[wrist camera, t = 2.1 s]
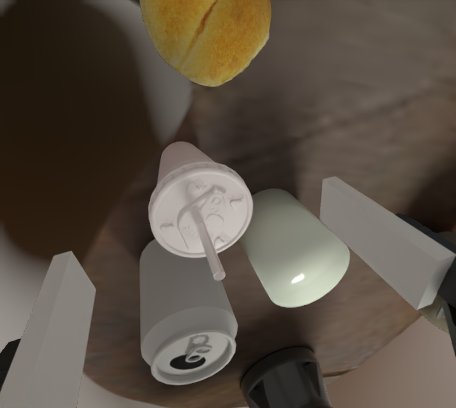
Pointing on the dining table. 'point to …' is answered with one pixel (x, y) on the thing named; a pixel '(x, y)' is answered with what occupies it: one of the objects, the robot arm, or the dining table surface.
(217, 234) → the smoothie
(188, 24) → the bread roll
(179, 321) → the can
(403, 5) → the dining table surface
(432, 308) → the cantaloupe
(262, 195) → the sage mug
